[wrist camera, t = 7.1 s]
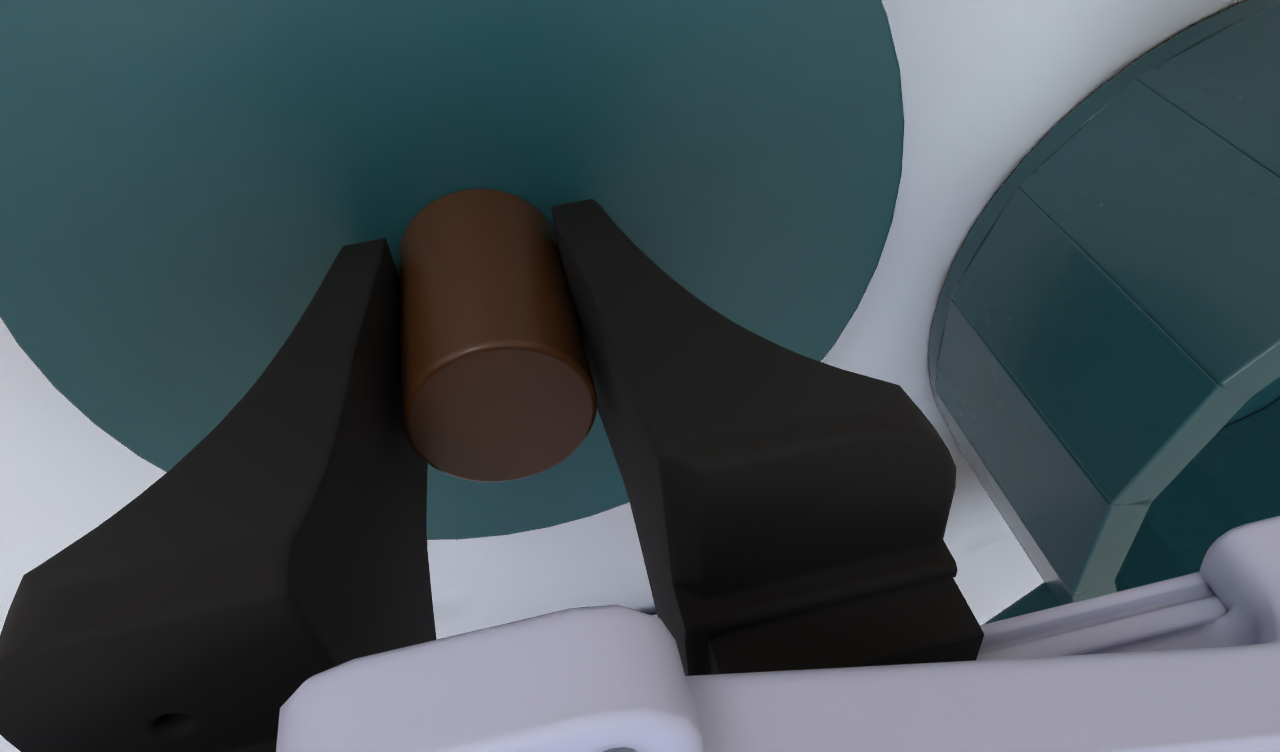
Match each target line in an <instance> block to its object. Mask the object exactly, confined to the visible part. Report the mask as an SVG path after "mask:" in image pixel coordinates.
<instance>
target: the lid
mask: <svg viewBox="0 0 1280 752" xmlns="http://www.w3.org/2000/svg"><path fill="white" fill-rule="evenodd" d="M903 137H904V114H903V102H902V90H901V79H900V68H899V64H898V60H897V56H896V51H895V47H894V43H893V39H892V34H891V30H890V26H889V22H888V17H887V14H886V11H885V9H884V6H883V4H882V1H881V0H0V317H1V318H2V320H3V321H4V323H5V325H6V326H7V328H8V329H9V331H10V332H11V334H12V335H13V337H14V339H15V340H16V342H17V343H18V345H19V346H20V347H21V348H22V349H23V351H24V352H25V353H26V354H27V355H28V356H29V358H30V359H31V360H32V361H33V362H34V363H35V365H36V366H37V367H38V368H39V369H40V371H41V372H42V373H43V374H44V375H45V376H46V378H47V379H48V380H49V381H50V382H51V383H52V385H53V386H54V387H55V388H56V389H57V390H58V391H59V392H60V393H62V394H63V395H64V396H65V397H66V398H67V399H68V400H69V401H70V402H71V403H72V404H73V405H75V406H76V407H77V408H78V409H79V410H80V411H81V412H82V413H83V414H84V415H85V416H87V417H88V418H89V419H90V420H91V421H92V422H93V423H94V424H95V425H97V426H98V427H99V428H101V429H102V430H104V431H105V432H106V433H108V434H109V435H110V436H112V437H113V438H115V439H116V440H117V441H119V442H120V443H121V444H123V445H124V446H126V447H127V448H128V449H130V450H131V451H132V452H134V453H135V454H137V455H138V456H140V457H141V458H143V459H145V460H147V461H148V462H150V463H152V464H154V465H155V466H157V467H159V468H161V469H162V470H164V471H166V472H168V471H169V470H171V469H172V468H173V467H174V466H175V465H176V464H177V463H178V462H179V461H180V460H181V459H182V458H183V457H184V456H186V455H187V454H188V453H189V452H190V451H191V450H192V449H193V448H194V447H195V446H196V445H197V444H198V443H199V442H200V441H202V440H203V439H204V438H205V437H206V436H207V435H208V434H209V433H210V432H211V431H212V430H213V429H214V428H215V427H216V426H217V425H218V424H219V423H220V422H221V421H222V420H223V419H224V418H225V417H226V416H227V414H228V413H229V412H230V411H231V410H232V409H233V408H234V407H235V406H236V404H237V403H238V402H239V401H240V400H241V399H242V398H243V397H244V396H245V394H246V393H247V392H248V391H249V390H250V388H251V387H252V386H253V385H254V384H255V382H256V381H257V380H258V379H259V377H260V376H261V375H262V373H263V372H264V370H265V369H266V368H267V366H268V365H269V364H270V362H271V361H272V359H273V358H274V357H275V355H276V354H277V352H278V351H279V350H280V348H281V347H282V346H283V344H284V343H285V341H286V340H287V338H288V337H289V335H290V334H291V332H292V330H293V329H294V327H295V326H296V324H297V322H298V321H299V319H300V318H301V316H302V314H303V313H304V311H305V310H306V308H307V306H308V305H309V303H310V302H311V300H312V298H313V296H314V295H315V293H316V291H317V290H318V288H319V286H320V284H321V283H322V281H323V279H324V277H325V276H326V274H327V272H328V270H329V269H330V267H331V265H332V263H333V261H334V260H335V258H336V256H337V255H338V253H339V252H340V250H341V249H342V247H343V246H345V245H351V244H356V243H361V242H366V241H372V240H377V239H382V238H386V240H387V243H388V246H389V249H390V252H391V255H392V258H393V261H394V264H395V267H396V270H397V273H398V276H399V293H400V339H401V384H402V420H403V427H404V431H405V434H406V436H407V438H408V440H409V442H410V444H411V445H412V447H413V448H414V450H415V451H416V452H417V454H418V455H419V456H420V457H421V458H422V459H423V460H424V461H426V462H427V463H428V471H427V519H426V525H427V540H438V539H468V538H478V537H488V536H499V535H508V534H513V533H519V532H524V531H530V530H535V529H541V528H546V527H551V526H555V525H559V524H562V523H566V522H570V521H574V520H577V519H581V518H585V517H589V516H592V515H595V514H598V513H600V512H603V511H606V510H609V509H612V508H614V507H617V506H620V505H623V504H626V503H628V502H630V501H629V498H628V495H627V491H626V488H625V485H624V482H623V478H622V476H621V473H620V470H619V467H618V465H617V462H616V459H615V456H614V454H613V451H612V448H611V445H610V442H609V440H608V437H607V434H606V431H605V429H604V426H603V423H602V420H601V418H600V415H599V412H598V409H597V404H598V403H597V393H596V389H595V385H594V381H593V377H592V374H591V370H590V366H589V362H588V358H587V354H586V350H585V346H584V342H583V338H582V334H581V331H580V327H579V323H578V319H577V315H576V311H575V307H574V303H573V299H572V296H571V293H570V290H569V287H568V283H567V279H566V275H565V271H564V267H563V263H562V259H561V255H560V252H559V248H558V242H557V237H556V231H555V226H554V220H553V215H552V209H551V206H556V205H561V204H566V203H572V202H577V201H582V200H588V199H593V200H595V201H596V202H597V203H599V204H600V205H601V206H602V208H603V209H604V210H605V212H606V213H607V214H608V215H609V217H610V218H611V219H612V220H613V221H614V222H615V224H616V225H617V226H618V227H619V228H620V229H621V230H622V231H623V232H624V233H625V234H626V235H627V237H628V238H629V239H630V240H631V241H632V242H633V243H634V244H635V245H636V246H637V247H638V248H639V249H640V250H641V251H642V252H643V253H645V254H646V255H647V256H648V257H649V258H650V259H651V260H652V261H653V262H654V263H655V264H656V265H658V266H659V267H660V268H661V269H662V270H663V271H664V272H665V273H667V274H668V275H669V276H670V277H671V278H672V279H674V280H675V281H676V282H677V283H679V284H680V285H681V286H683V287H684V288H685V289H686V290H688V291H689V292H690V293H691V294H693V295H694V296H695V297H697V298H698V299H700V300H701V301H702V302H704V303H705V304H707V305H708V306H709V307H711V308H712V309H714V310H715V311H717V312H718V313H720V314H722V315H723V316H725V317H726V318H728V319H729V320H731V321H733V322H734V323H736V324H738V325H740V326H742V327H744V328H745V329H747V330H749V331H751V332H753V333H755V334H757V335H759V336H761V337H763V338H765V339H767V340H769V341H771V342H773V343H775V344H777V345H780V346H782V347H784V348H787V349H789V350H791V351H794V352H796V353H798V354H801V355H803V356H806V357H809V358H811V359H814V360H817V361H819V362H821V361H822V359H823V358H824V357H825V356H826V354H827V353H828V352H829V350H830V349H831V348H832V347H833V345H834V344H835V342H836V341H837V339H838V338H839V336H840V334H841V333H842V331H843V330H844V328H845V326H846V325H847V323H848V322H849V320H850V319H851V317H852V315H853V314H854V312H855V311H856V309H857V307H858V305H859V303H860V301H861V299H862V297H863V295H864V293H865V291H866V289H867V286H868V284H869V282H870V280H871V278H872V276H873V274H874V272H875V270H876V268H877V265H878V262H879V259H880V256H881V253H882V250H883V247H884V244H885V241H886V238H887V235H888V232H889V229H890V226H891V223H892V219H893V214H894V209H895V204H896V199H897V194H898V189H899V184H900V178H901V172H902V154H903Z"/></svg>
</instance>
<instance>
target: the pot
mask: <svg viewBox="0 0 1280 752" xmlns="http://www.w3.org/2000/svg"><path fill="white" fill-rule="evenodd" d="M928 359H929V371H930V384H931V387H932V390H933V394H934V397H935V401H936V404H937V407H938V408H939V410H940V412H941V414H942V416H943V418H944V419H945V421H946V423H947V425H948V426H949V428H950V429H951V432H952V434H953V437H954V439H955V442H956V444H957V447H958V449H959V451H960V452H961V454H962V455H963V457H964V458H965V460H966V461H967V463H968V464H969V466H970V468H971V469H972V471H973V472H974V474H975V475H976V477H977V478H978V480H979V481H980V483H981V485H982V486H983V488H984V489H985V491H986V492H987V494H988V495H989V497H990V498H991V500H992V502H993V503H994V505H995V506H996V508H997V509H998V511H999V512H1000V514H1001V515H1002V517H1003V519H1004V520H1005V522H1006V523H1007V525H1008V526H1009V528H1010V529H1011V531H1012V532H1013V534H1014V536H1015V537H1016V539H1017V540H1018V542H1019V543H1020V545H1021V546H1022V548H1023V549H1024V551H1025V552H1026V554H1027V556H1028V557H1029V559H1030V560H1031V562H1032V563H1033V565H1034V566H1035V568H1036V569H1037V571H1038V573H1039V574H1040V576H1041V577H1042V579H1043V580H1044V583H1043V584H1041V585H1040V586H1038V587H1037V588H1035V589H1034V590H1032V591H1031V592H1030V593H1028V594H1027V595H1025V596H1024V597H1022V598H1021V599H1019V600H1018V601H1016V602H1015V603H1014V604H1012V605H1011V606H1009V607H1008V608H1006V609H1005V610H1003V611H1002V612H1001V613H999V614H998V615H996V616H995V617H993V618H992V619H990V620H989V621H988V622H986V623H985V624H988V623H992V622H996V621H1000V620H1004V619H1008V618H1012V617H1017V616H1021V615H1025V614H1029V613H1033V612H1037V611H1041V610H1045V609H1049V608H1053V607H1057V606H1061V605H1066V604H1070V603H1074V602H1078V601H1082V600H1086V599H1090V598H1094V597H1098V596H1102V595H1106V594H1111V593H1115V592H1119V591H1123V590H1127V589H1131V588H1135V587H1139V586H1143V585H1147V584H1151V583H1155V582H1160V581H1164V580H1168V579H1172V578H1176V577H1180V576H1184V575H1188V574H1192V573H1196V572H1199V571H1200V568H1201V565H1202V562H1203V559H1204V557H1205V554H1206V553H1207V551H1208V549H1209V547H1210V546H1211V545H1212V544H1213V543H1214V542H1215V541H1216V540H1217V538H1219V537H1220V536H1222V535H1223V534H1225V533H1226V532H1228V531H1229V530H1231V529H1233V528H1236V527H1239V526H1241V525H1244V524H1248V523H1252V522H1256V521H1260V520H1264V519H1268V518H1272V517H1277V516H1280V0H1247V1H1245V2H1242V3H1239V4H1237V5H1234V6H1232V7H1230V8H1228V9H1226V10H1224V11H1222V12H1220V13H1218V14H1216V15H1214V16H1211V17H1209V18H1207V19H1205V20H1203V21H1201V22H1199V23H1197V24H1195V25H1193V26H1191V27H1189V28H1187V29H1185V30H1184V31H1182V32H1180V33H1179V34H1177V35H1176V36H1174V37H1172V38H1171V39H1169V40H1167V41H1166V42H1164V43H1162V44H1161V45H1159V46H1157V47H1156V48H1154V49H1153V50H1151V51H1149V52H1148V53H1146V54H1144V55H1143V56H1141V57H1140V58H1138V59H1137V60H1136V61H1134V62H1133V63H1132V64H1130V65H1129V66H1128V67H1126V68H1125V69H1123V70H1122V71H1121V72H1119V73H1118V74H1117V75H1115V76H1114V77H1112V78H1111V79H1110V80H1108V81H1107V82H1106V83H1104V84H1103V85H1102V86H1100V87H1099V88H1098V89H1097V90H1095V91H1094V92H1093V93H1092V94H1091V95H1090V96H1088V97H1087V98H1086V99H1085V100H1084V101H1083V102H1082V103H1080V104H1079V105H1078V106H1077V107H1076V108H1075V109H1073V110H1072V111H1071V112H1070V113H1069V114H1068V115H1067V116H1065V117H1064V118H1063V119H1062V120H1061V121H1060V122H1059V123H1058V124H1057V125H1056V126H1055V127H1054V128H1053V129H1052V130H1051V131H1050V132H1049V133H1048V134H1047V135H1046V136H1045V137H1044V138H1043V139H1042V140H1041V141H1040V142H1039V143H1038V144H1037V145H1036V146H1035V147H1034V148H1033V149H1032V150H1031V151H1030V152H1029V153H1028V155H1027V156H1026V157H1025V158H1024V159H1023V160H1022V161H1021V163H1020V164H1019V165H1018V166H1017V167H1016V169H1015V170H1014V171H1013V172H1012V174H1011V175H1010V176H1009V177H1008V178H1007V180H1006V181H1005V182H1004V183H1003V185H1002V186H1001V187H1000V188H999V189H998V191H997V192H996V193H995V194H994V196H993V197H992V199H991V200H990V202H989V203H988V205H987V206H986V208H985V209H984V211H983V212H982V214H981V215H980V217H979V218H978V220H977V221H976V223H975V224H974V226H973V227H972V229H971V230H970V232H969V234H968V236H967V237H966V239H965V241H964V243H963V245H962V247H961V249H960V251H959V252H958V254H957V256H956V258H955V260H954V262H953V264H952V266H951V268H950V271H949V273H948V276H947V278H946V281H945V283H944V286H943V288H942V291H941V294H940V296H939V299H938V303H937V307H936V311H935V315H934V319H933V323H932V327H931V334H930V345H929V355H928ZM983 625H984V624H983Z"/></svg>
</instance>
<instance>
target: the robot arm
mask: <svg viewBox="0 0 1280 752" xmlns="http://www.w3.org/2000/svg"><path fill="white" fill-rule="evenodd" d="M551 209H552V215H553V220H554V226H555V231H556V237H557V242H558V248H559V252H560V255H561V259H562V263H563V267H564V271H565V275H566V279H567V283H568V287H569V290H570V293H571V296H572V299H573V303H574V307H575V311H576V315H577V319H578V323H579V327H580V331H581V334H582V338H583V342H584V346H585V350H586V354H587V358H588V362H589V366H590V370H591V374H592V377H593V381H594V385H595V389H596V393H597V403H598V404H597V409H598V412H599V415H600V418H601V420H602V423H603V426H604V429H605V431H606V434H607V437H608V440H609V442H610V445H611V448H612V451H613V454H614V456H615V459H616V462H617V465H618V467H619V470H620V473H621V476H622V478H623V482H624V485H625V488H626V491H627V495H628V498H629V501H630V505H631V509H632V513H633V517H634V521H635V525H636V529H637V533H638V537H639V541H640V545H641V549H642V553H643V558H644V562H645V566H646V570H647V574H648V578H649V582H650V587H651V591H652V595H653V599H654V603H655V607H656V612H657V614H655V615H649V614H646V613H642V612H639V611H636V610H632V609H629V608H626V607H622V606H619V605H607V606H595V607H582V608H571V609H567V610H563V611H558V612H554V613H550V614H545V615H541V616H537V617H532V618H528V619H524V620H520V621H515V622H511V623H507V624H502V625H498V626H494V627H489V628H485V629H481V630H477V631H472V632H468V633H464V634H459V635H455V636H451V637H446V638H442V639H438V640H436V632H435V623H434V613H433V604H432V594H431V583H430V573H429V562H428V552H427V525H426V519H427V471H428V463H427V462H426V461H424V460H423V459H422V458H421V457H420V456H419V455H418V454H417V452H416V451H415V450H414V448H413V447H412V445H411V444H410V442H409V440H408V438H407V436H406V434H405V431H404V427H403V420H402V384H401V339H400V293H399V276H398V273H397V270H396V267H395V264H394V261H393V258H392V255H391V252H390V249H389V246H388V243H387V240H386V238H382V239H377V240H372V241H366V242H361V243H356V244H351V245H345V246H343V247H342V249H341V250H340V252H339V253H338V255H337V256H336V258H335V260H334V261H333V263H332V265H331V267H330V269H329V270H328V272H327V274H326V276H325V277H324V279H323V281H322V283H321V284H320V286H319V288H318V290H317V291H316V293H315V295H314V296H313V298H312V300H311V302H310V303H309V305H308V306H307V308H306V310H305V311H304V313H303V314H302V316H301V318H300V319H299V321H298V322H297V324H296V326H295V327H294V329H293V330H292V332H291V334H290V335H289V337H288V338H287V340H286V341H285V343H284V344H283V346H282V347H281V348H280V350H279V351H278V352H277V354H276V355H275V357H274V358H273V359H272V361H271V362H270V364H269V365H268V366H267V368H266V369H265V370H264V372H263V373H262V375H261V376H260V377H259V379H258V380H257V381H256V382H255V384H254V385H253V386H252V387H251V388H250V390H249V391H248V392H247V393H246V394H245V396H244V397H243V398H242V399H241V400H240V401H239V402H238V403H237V404H236V406H235V407H234V408H233V409H232V410H231V411H230V412H229V413H228V414H227V416H226V417H225V418H224V419H223V420H222V421H221V422H220V423H219V424H218V425H217V426H216V427H215V428H214V429H213V430H212V431H211V432H210V433H209V434H208V435H207V436H206V437H205V438H204V439H203V440H202V441H200V442H199V443H198V444H197V445H196V446H195V447H194V448H193V449H192V450H191V451H190V452H189V453H188V454H187V455H186V456H184V457H183V458H182V459H181V460H180V461H179V462H178V463H177V464H176V465H175V466H174V467H173V468H172V469H171V470H169V471H168V472H167V473H166V474H165V475H164V476H162V477H161V478H160V479H159V480H158V481H156V482H155V483H154V484H153V485H151V486H150V487H149V488H148V489H147V490H145V491H144V492H143V493H142V494H141V495H139V496H138V497H137V498H135V499H134V500H133V501H131V502H130V503H129V504H127V505H126V506H125V507H124V508H122V509H121V510H120V511H118V512H117V513H116V514H114V515H113V516H112V517H110V518H109V519H108V520H106V521H105V522H103V523H102V524H101V525H99V526H98V527H97V528H95V529H94V530H92V531H91V532H89V533H88V534H86V535H85V536H83V537H82V538H80V539H79V540H77V541H76V542H74V543H73V544H71V545H70V546H68V547H67V548H65V549H64V550H62V551H61V552H59V553H58V554H56V555H55V556H53V557H52V558H50V559H49V560H47V561H46V562H44V563H43V564H41V565H39V566H38V567H36V568H35V569H33V570H31V571H30V572H28V573H27V574H25V575H24V576H23V578H22V580H21V583H20V585H19V587H18V590H17V592H16V594H15V597H14V599H13V602H12V604H11V606H10V609H9V611H8V614H7V617H6V620H5V623H4V626H3V629H2V632H1V635H0V735H1V736H3V737H4V738H5V739H6V740H7V741H8V742H10V743H11V744H12V745H13V746H15V747H16V748H17V749H18V750H20V751H21V752H1280V516H1277V517H1272V518H1268V519H1264V520H1260V521H1256V522H1252V523H1248V524H1244V525H1241V526H1239V527H1236V528H1233V529H1231V530H1229V531H1228V532H1226V533H1225V534H1223V535H1222V536H1220V537H1219V538H1217V540H1216V541H1215V542H1214V543H1213V544H1212V545H1211V546H1210V547H1209V549H1208V551H1207V553H1206V554H1205V557H1204V559H1203V562H1202V565H1201V568H1200V571H1199V572H1196V573H1192V574H1188V575H1184V576H1180V577H1176V578H1172V579H1168V580H1164V581H1160V582H1155V583H1151V584H1147V585H1143V586H1139V587H1135V588H1131V589H1127V590H1123V591H1119V592H1115V593H1111V594H1106V595H1102V596H1098V597H1094V598H1090V599H1086V600H1082V601H1078V602H1074V603H1070V604H1066V605H1061V606H1057V607H1053V608H1049V609H1045V610H1041V611H1037V612H1033V613H1029V614H1025V615H1021V616H1017V617H1012V618H1008V619H1004V620H1000V621H996V622H992V623H988V624H984V625H979V624H978V622H977V620H976V618H975V616H974V615H973V613H972V611H971V609H970V607H969V606H968V604H967V602H966V600H965V598H964V597H963V595H962V593H961V591H960V590H959V588H958V586H957V584H956V582H955V581H954V579H953V577H956V574H957V566H956V562H955V560H954V558H953V557H952V555H951V553H950V551H949V550H948V548H947V546H946V544H945V543H944V541H943V537H944V533H945V528H946V524H947V520H948V516H949V511H950V507H951V503H952V499H953V495H954V490H955V482H956V466H955V464H954V461H953V459H952V457H951V454H950V452H949V450H948V448H947V447H946V445H945V444H944V442H943V440H942V439H941V437H940V436H939V434H938V433H937V431H936V430H935V428H934V427H933V425H932V424H931V423H930V422H929V420H928V419H927V418H926V416H925V415H924V414H923V413H922V411H921V410H920V409H919V408H918V407H917V406H916V404H915V403H914V402H913V401H912V400H911V399H910V398H909V396H908V395H907V394H906V393H905V392H904V391H903V389H902V388H901V387H900V386H899V385H896V384H892V383H889V382H885V381H881V380H878V379H874V378H871V377H867V376H863V375H860V374H856V373H853V372H849V371H845V370H842V369H839V368H836V367H833V366H830V365H828V364H825V363H822V362H819V361H817V360H814V359H811V358H809V357H806V356H803V355H801V354H798V353H796V352H794V351H791V350H789V349H787V348H784V347H782V346H780V345H777V344H775V343H773V342H771V341H769V340H767V339H765V338H763V337H761V336H759V335H757V334H755V333H753V332H751V331H749V330H747V329H745V328H744V327H742V326H740V325H738V324H736V323H734V322H733V321H731V320H729V319H728V318H726V317H725V316H723V315H722V314H720V313H718V312H717V311H715V310H714V309H712V308H711V307H709V306H708V305H707V304H705V303H704V302H702V301H701V300H700V299H698V298H697V297H695V296H694V295H693V294H691V293H690V292H689V291H688V290H686V289H685V288H684V287H683V286H681V285H680V284H679V283H677V282H676V281H675V280H674V279H672V278H671V277H670V276H669V275H668V274H667V273H665V272H664V271H663V270H662V269H661V268H660V267H659V266H658V265H656V264H655V263H654V262H653V261H652V260H651V259H650V258H649V257H648V256H647V255H646V254H645V253H643V252H642V251H641V250H640V249H639V248H638V247H637V246H636V245H635V244H634V243H633V242H632V241H631V240H630V239H629V238H628V237H627V235H626V234H625V233H624V232H623V231H622V230H621V229H620V228H619V227H618V226H617V225H616V224H615V222H614V221H613V220H612V219H611V218H610V217H609V215H608V214H607V213H606V212H605V210H604V209H603V208H602V206H601V205H600V204H599V203H597V202H596V201H595V200H593V199H588V200H582V201H577V202H572V203H566V204H561V205H556V206H551Z"/></svg>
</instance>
